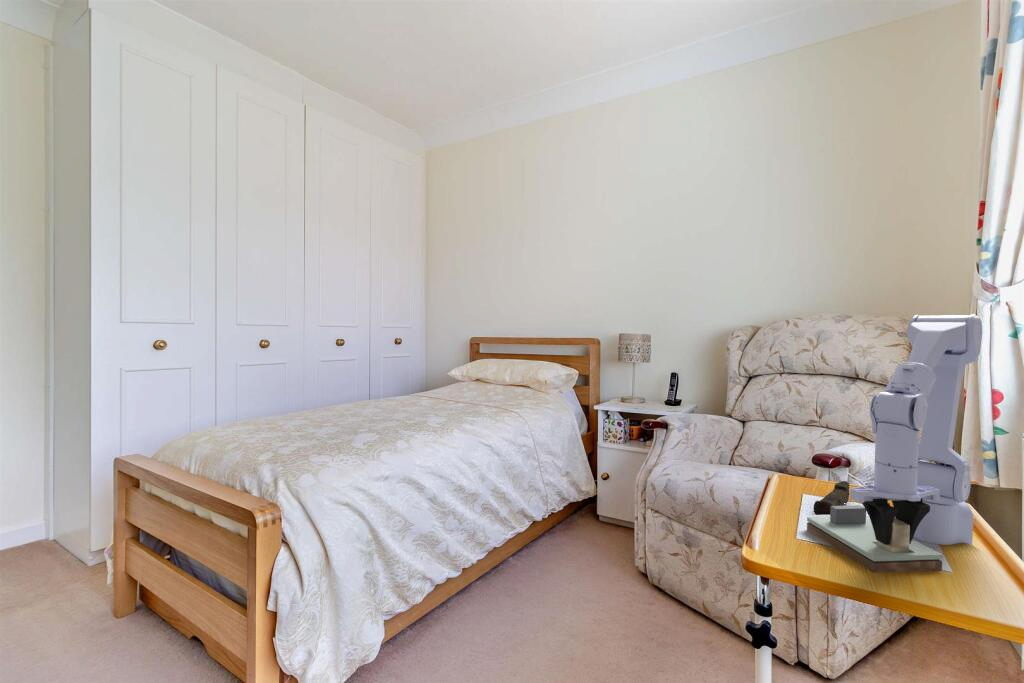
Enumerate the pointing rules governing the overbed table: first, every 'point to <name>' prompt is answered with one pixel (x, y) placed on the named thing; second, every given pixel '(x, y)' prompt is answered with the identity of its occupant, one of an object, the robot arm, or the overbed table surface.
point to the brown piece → (875, 565)
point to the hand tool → (833, 499)
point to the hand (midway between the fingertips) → (893, 541)
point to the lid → (866, 535)
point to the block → (898, 538)
